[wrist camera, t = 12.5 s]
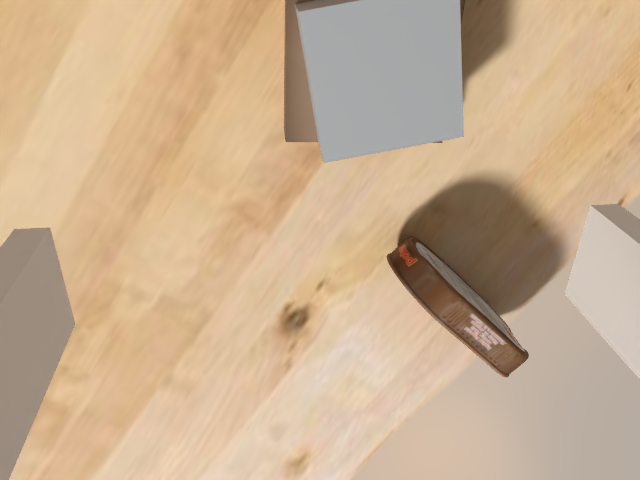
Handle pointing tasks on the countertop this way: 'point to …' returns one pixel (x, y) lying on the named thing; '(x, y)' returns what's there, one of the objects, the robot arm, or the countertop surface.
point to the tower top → (382, 73)
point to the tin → (456, 306)
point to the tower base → (300, 82)
